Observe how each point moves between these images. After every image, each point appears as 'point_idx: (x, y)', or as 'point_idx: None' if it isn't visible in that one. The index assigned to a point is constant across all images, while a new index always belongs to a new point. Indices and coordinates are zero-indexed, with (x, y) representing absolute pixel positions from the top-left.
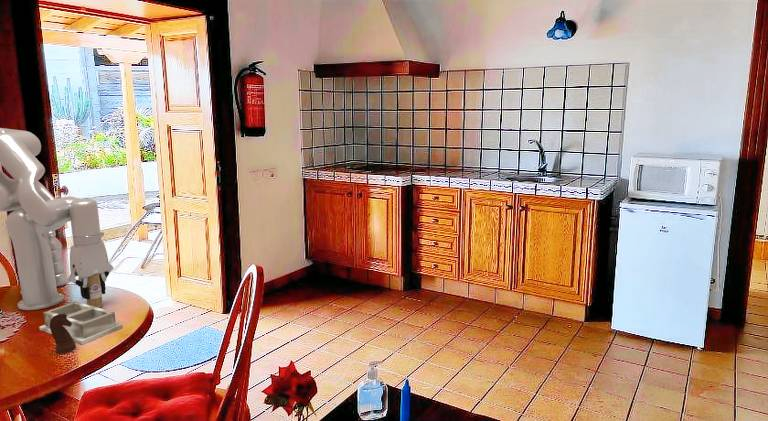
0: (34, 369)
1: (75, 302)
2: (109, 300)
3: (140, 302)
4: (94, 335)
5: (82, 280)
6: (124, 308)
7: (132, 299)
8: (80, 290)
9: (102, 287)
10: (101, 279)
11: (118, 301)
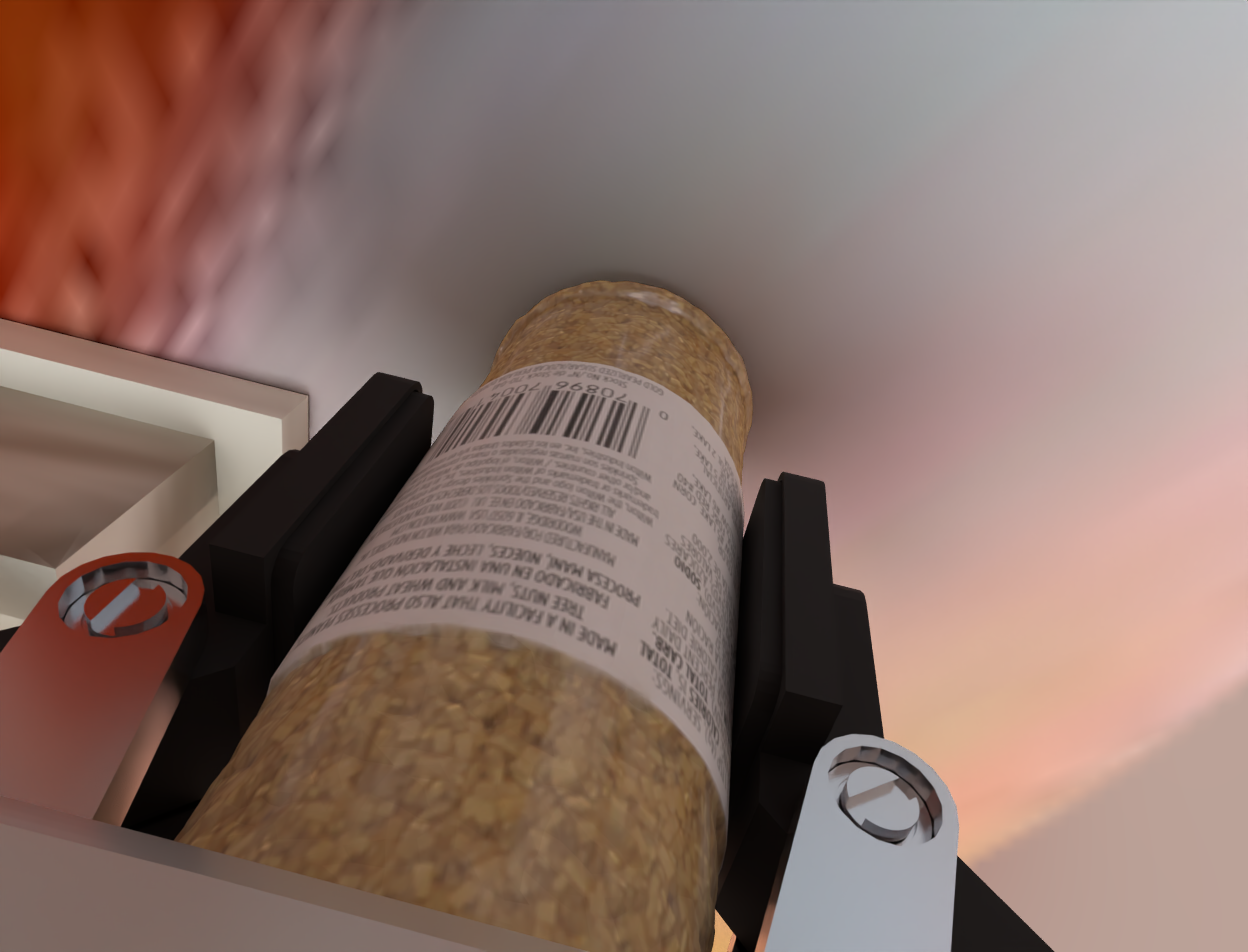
0: None
1: (28, 600)
2: (1006, 385)
3: (959, 847)
4: None
5: (128, 767)
6: None
7: (1080, 708)
8: (213, 526)
9: None
10: (738, 929)
11: (968, 566)
